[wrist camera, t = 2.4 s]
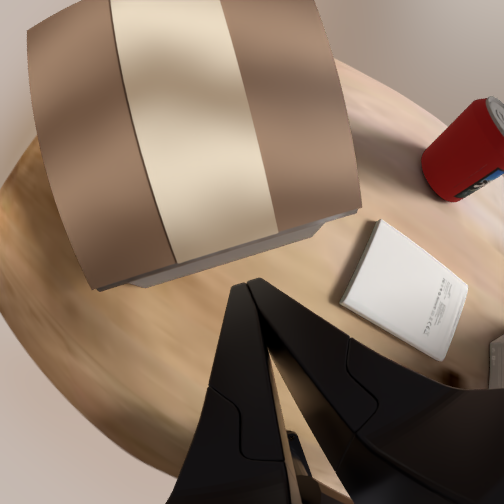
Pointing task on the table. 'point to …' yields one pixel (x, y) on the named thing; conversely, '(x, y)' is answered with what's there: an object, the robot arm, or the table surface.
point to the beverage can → (467, 151)
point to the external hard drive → (406, 292)
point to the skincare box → (497, 363)
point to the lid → (188, 129)
